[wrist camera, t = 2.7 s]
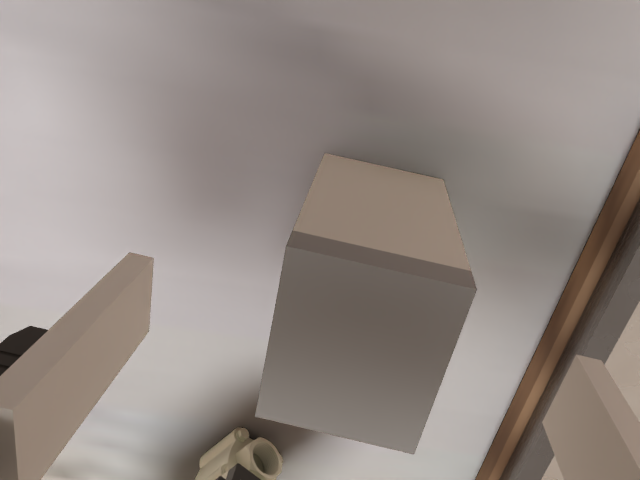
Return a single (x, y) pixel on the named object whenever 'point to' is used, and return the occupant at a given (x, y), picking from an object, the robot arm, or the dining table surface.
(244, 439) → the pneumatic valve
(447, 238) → the din module
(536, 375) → the rail board
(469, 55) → the dining table surface
